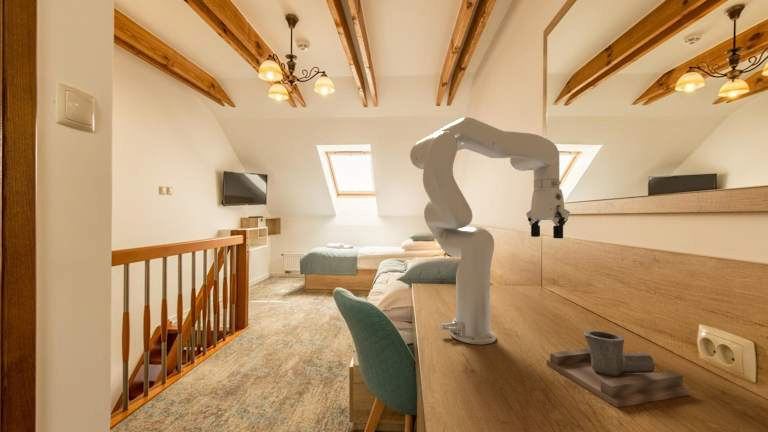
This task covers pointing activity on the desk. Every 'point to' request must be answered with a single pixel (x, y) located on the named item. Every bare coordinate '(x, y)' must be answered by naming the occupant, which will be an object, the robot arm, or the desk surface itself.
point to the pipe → (615, 355)
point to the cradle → (617, 380)
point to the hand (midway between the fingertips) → (546, 237)
